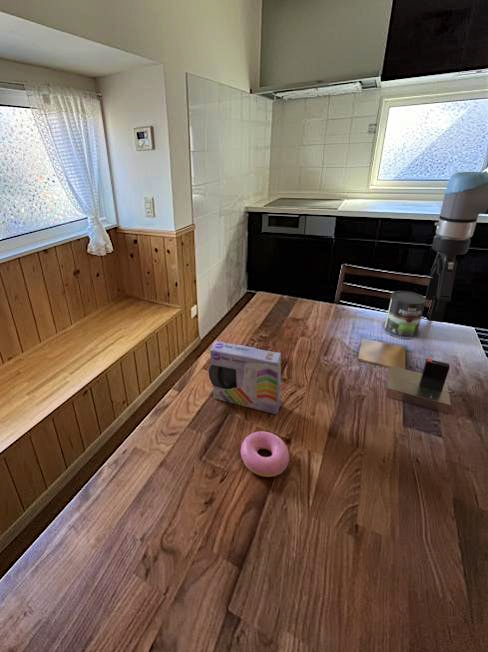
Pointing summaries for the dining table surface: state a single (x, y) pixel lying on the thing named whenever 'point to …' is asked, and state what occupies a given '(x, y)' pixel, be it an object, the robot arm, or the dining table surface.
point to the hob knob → (434, 374)
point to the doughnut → (265, 464)
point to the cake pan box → (246, 376)
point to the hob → (415, 390)
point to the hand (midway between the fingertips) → (432, 309)
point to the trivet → (381, 354)
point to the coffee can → (404, 313)
